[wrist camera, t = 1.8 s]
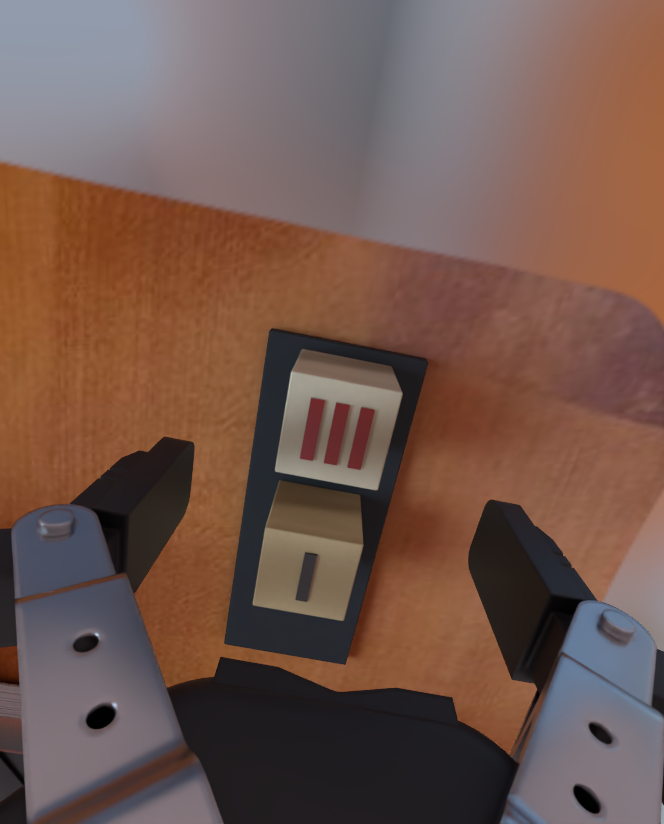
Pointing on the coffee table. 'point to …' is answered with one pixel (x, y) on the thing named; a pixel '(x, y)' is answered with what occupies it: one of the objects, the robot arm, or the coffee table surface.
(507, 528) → the robot arm
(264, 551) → the dark dash wooden cube
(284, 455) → the red stripe wooden cube
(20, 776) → the picture frame
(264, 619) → the mat
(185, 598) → the coffee table surface
